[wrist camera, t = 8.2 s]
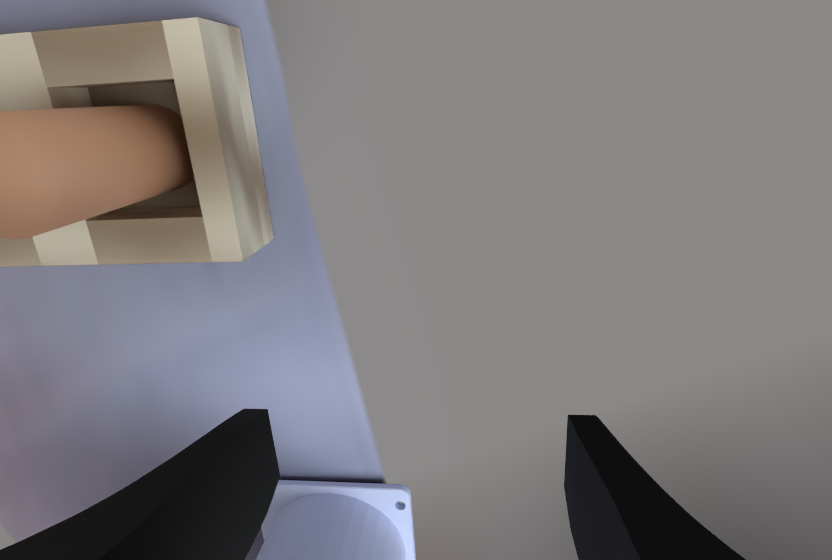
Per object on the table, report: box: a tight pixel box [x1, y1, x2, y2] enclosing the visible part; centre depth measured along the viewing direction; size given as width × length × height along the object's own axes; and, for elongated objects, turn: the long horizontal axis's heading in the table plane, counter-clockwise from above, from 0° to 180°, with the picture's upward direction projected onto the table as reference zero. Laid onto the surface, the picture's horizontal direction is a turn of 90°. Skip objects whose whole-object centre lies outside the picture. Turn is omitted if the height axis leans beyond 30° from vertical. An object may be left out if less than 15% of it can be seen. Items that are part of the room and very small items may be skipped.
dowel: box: [0, 104, 194, 239], centre depth 16 cm, size 3×3×7 cm
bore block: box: [0, 17, 274, 267], centre depth 19 cm, size 8×14×3 cm, turn 93°
